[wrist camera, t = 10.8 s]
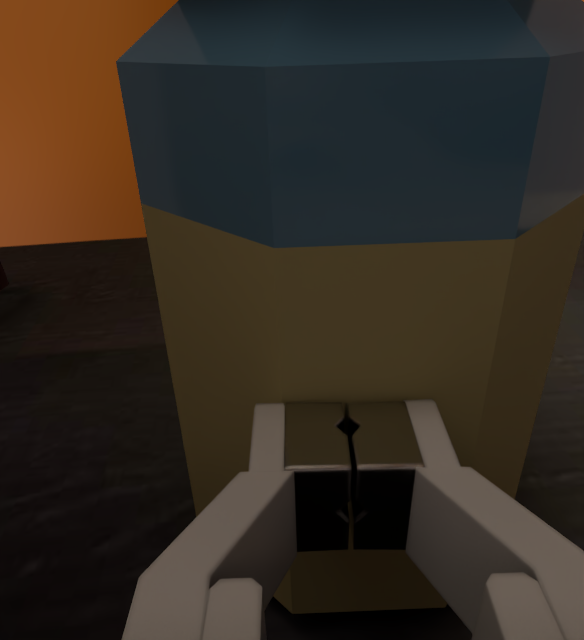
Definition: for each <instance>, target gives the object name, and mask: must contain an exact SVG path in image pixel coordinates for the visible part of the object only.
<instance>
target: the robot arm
mask: <svg viewBox="0 0 584 640" xmlns="http://www.w3.org/2000/svg"><path fill="white" fill-rule="evenodd" d="M344 422H345V429H346V434H344ZM348 502H349V511H348ZM349 519H350V520H349ZM349 525H350V527H351V535H352V542H353V550H406V551H405V553H406V554H407V555H408V556H409V557H410V559H411V560H412V561H413V562H414V563H415V565H416V566H417V567H418V568H419V570H420V571H421V572H422V573H423V574H424V576H425V577H426V578H427V579H428V580H429V582H430V583H431V584H432V585H433V587H434V588H435V589H436V590H437V591H438V593H439V594H440V595H441V596H442V597H443V599H444V600H445V601H446V602H447V604H448V605H449V606H450V607H451V608H452V610H453V611H454V612H455V613H456V614H457V616H458V617H459V618H460V619H461V620H462V622H463V623H464V624H465V625H466V627H467V628H468V629H469V630H470V631H471V633H472V634H473V635H472V638H471V640H584V551H583V550H582V549H580V548H579V547H578V546H576V545H575V544H574V543H572V542H571V541H570V540H568V539H567V538H565V537H564V536H563V535H561V534H560V533H559V532H557V531H556V530H555V529H553V528H552V527H551V526H549V525H548V524H547V523H545V522H544V521H543V520H541V519H540V518H539V517H537V516H536V515H535V514H533V513H532V512H531V511H529V510H528V509H526V508H525V507H524V506H522V505H521V504H520V503H518V502H517V501H516V500H514V499H513V498H512V497H510V496H509V495H508V494H506V493H505V492H504V491H502V490H501V489H500V488H498V487H497V486H496V485H494V484H493V483H491V482H490V481H489V480H487V479H486V478H485V477H483V476H482V475H481V474H479V473H478V472H477V471H475V470H474V469H473V468H471V467H461V465H460V463H459V460H458V457H457V455H456V452H455V450H454V447H453V445H452V442H451V440H450V437H449V435H448V432H447V430H446V427H445V425H444V422H443V419H442V417H441V414H440V412H439V409H438V407H437V404H436V402H435V401H434V400H433V399H416V400H403V401H384V402H349V403H346V405H345V416H344V409H343V404H342V402H286V405H285V404H284V403H256V406H255V408H254V417H253V428H252V439H251V449H250V460H249V471H248V472H239V473H238V474H237V475H236V476H235V477H234V478H233V479H232V480H231V481H230V483H229V484H228V485H227V486H226V487H225V488H224V489H223V490H222V491H221V492H220V493H219V494H218V495H217V496H216V497H215V498H214V499H213V500H212V501H211V502H210V503H209V504H208V506H207V507H206V508H205V509H204V510H203V511H202V512H201V513H200V514H199V515H198V516H197V517H196V518H195V519H194V520H193V521H192V522H191V523H190V524H189V525H188V526H187V528H186V529H185V530H184V531H183V532H182V533H181V534H180V535H179V536H178V537H177V538H176V539H175V540H174V541H173V542H172V543H171V544H170V545H169V546H168V547H167V548H166V550H165V551H164V552H163V553H162V554H161V555H160V556H159V557H158V558H157V559H156V560H155V561H154V562H153V563H152V564H151V565H150V566H149V567H148V568H147V569H146V570H145V571H144V573H143V574H142V575H141V576H140V577H139V579H138V583H137V586H136V590H135V593H134V597H133V601H132V604H131V608H130V612H129V615H128V619H127V622H126V626H125V630H124V633H123V637H122V640H267V637H266V626H265V614H264V610H265V609H266V607H267V605H268V604H269V602H270V600H271V599H272V597H273V595H274V594H275V592H276V590H277V588H278V587H279V585H280V583H281V582H282V580H283V578H284V577H285V575H286V573H287V572H288V570H289V568H290V566H291V565H292V563H293V561H294V560H295V558H296V556H297V552H309V551H329V550H348V544H349Z"/></svg>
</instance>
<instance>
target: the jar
mask: <svg viewBox="0 0 584 640" xmlns="http://www.w3.org/2000/svg"><path fill="white" fill-rule="evenodd" d="M116 64H117V69H118V75H119V80H120V86H121V91H122V98H123V103H124V109H125V115H126V120H127V126H128V132H129V137H130V142H131V149H132V154H133V160H134V166H135V171H136V177H137V182H138V188H139V194H140V199H141V205H142V211H143V217H144V222H145V228H146V234H147V239H148V245H149V251H150V256H151V262H152V268H153V273H154V279H155V285H156V290H157V296H158V302H159V307H160V313H161V319H162V324H163V330H164V336H165V341H166V347H167V353H168V358H169V364H170V370H171V375H172V381H173V387H174V392H175V398H176V404H177V410H178V415H179V421H180V427H181V432H182V438H183V444H184V449H185V455H186V461H187V466H188V472H189V478H190V483H191V489H192V495H193V500H194V506H195V512H196V517H197V516H198V515H199V514H200V513H201V512H202V511H203V510H204V509H205V508H206V507H207V506H208V504H209V503H210V502H211V501H212V500H213V499H214V498H215V497H216V496H217V495H218V494H219V493H220V492H221V491H222V490H223V489H224V488H225V487H226V486H227V485H228V484H229V483H230V481H231V480H232V479H233V478H234V477H235V476H236V475H237V474H238V473H239V472H248V471H249V460H250V449H251V439H252V428H253V417H254V408H255V406H256V403H284V404H285V405H286V402H342V404H343V409H344V416H345V405H346V403H349V402H384V401H403V400H416V399H433V400H434V401H435V402H436V404H437V407H438V409H439V412H440V414H441V417H442V419H443V422H444V425H445V427H446V430H447V432H448V435H449V437H450V440H451V442H452V445H453V447H454V450H455V452H456V455H457V457H458V460H459V463H460V465H461V467H471V468H473V469H474V470H475V471H477V472H478V473H479V474H481V475H482V476H483V477H485V478H486V479H487V480H489V481H490V482H491V483H493V484H494V485H496V486H497V487H498V488H500V489H501V490H502V491H504V492H505V493H506V494H508V495H509V496H510V497H512V498H513V499H514V500H515V496H516V492H517V488H518V484H519V480H520V476H521V472H522V469H523V465H524V461H525V457H526V453H527V449H528V445H529V441H530V437H531V434H532V430H533V426H534V422H535V418H536V414H537V410H538V406H539V402H540V399H541V395H542V391H543V387H544V383H545V379H546V375H547V371H548V367H549V364H550V360H551V356H552V352H553V348H554V344H555V340H556V336H557V332H558V328H559V325H560V321H561V317H562V313H563V309H564V305H565V301H566V297H567V293H568V290H569V286H570V282H571V278H572V274H573V270H574V266H575V262H576V258H577V255H578V251H579V247H580V243H581V239H582V235H583V231H584V2H583V1H582V0H179V1H178V2H177V3H176V4H175V5H174V6H172V8H170V9H169V10H168V11H167V12H166V13H165V14H164V15H163V16H162V17H161V18H160V19H159V20H158V21H157V22H156V23H155V24H154V25H153V26H152V27H151V28H150V29H149V30H148V31H147V32H146V33H145V34H144V35H143V36H142V37H141V38H140V39H139V40H138V41H137V42H136V43H135V44H134V45H133V46H132V47H131V48H130V49H128V51H126V52H125V53H124V55H122V56H121V57H120V58H119V59H118V60H117V61H116ZM344 434H346V429H345V422H344ZM348 511H349V502H348ZM349 520H350V519H349ZM405 551H406V550H353V542H352V535H351V527H350V525H349V544H348V550H329V551H309V552H297V556H296V558H295V560H294V561H293V563H292V565H291V566H290V568H289V570H288V572H287V573H286V575H285V577H284V578H283V580H282V582H281V583H280V585H279V587H278V588H277V590H276V592H275V594H274V595H273V597H275V598H276V599H277V600H278V601H279V602H280V603H281V604H282V605H283V606H284V607H285V608H287V609H288V610H289V611H290V612H291V613H292V614H302V613H325V612H349V611H373V610H396V609H420V608H443V607H446V605H447V602H446V601H445V600H444V599H443V597H442V596H441V595H440V594H439V593H438V591H437V590H436V589H435V588H434V587H433V585H432V584H431V583H430V582H429V580H428V579H427V578H426V577H425V576H424V574H423V573H422V572H421V571H420V570H419V568H418V567H417V566H416V565H415V563H414V562H413V561H412V560H411V559H410V557H409V556H408V555H407V554H406V553H405Z"/></svg>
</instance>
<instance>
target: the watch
mask: <svg viewBox="0 0 584 640" xmlns="http://www.w3.org/2000/svg"><path fill="white" fill-rule="evenodd" d="M8 284H9V282H8V280H7V277H6V274H5V272H4V269H3V267H2V265H1V262H0V290H2V289H3V288H5V287H6V286H7V285H8Z"/></svg>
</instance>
